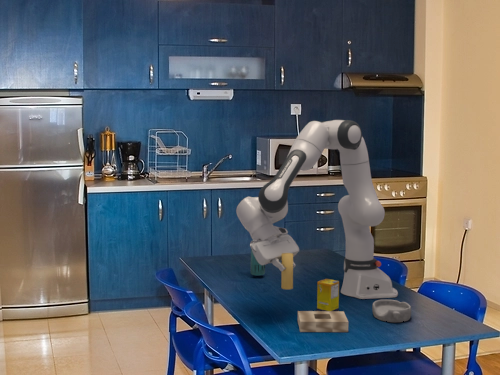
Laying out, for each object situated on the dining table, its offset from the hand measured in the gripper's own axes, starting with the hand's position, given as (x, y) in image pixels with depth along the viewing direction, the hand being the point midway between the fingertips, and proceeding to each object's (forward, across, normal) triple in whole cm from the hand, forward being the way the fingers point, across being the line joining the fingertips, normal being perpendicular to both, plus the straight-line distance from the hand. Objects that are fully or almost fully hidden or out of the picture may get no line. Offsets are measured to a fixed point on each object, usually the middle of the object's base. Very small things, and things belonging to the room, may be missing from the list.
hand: (288, 268), depth 248 cm
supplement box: (+16, +20, +11) cm, 28 cm away
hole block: (+22, +3, +5) cm, 23 cm away
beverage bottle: (-20, +42, +47) cm, 66 cm away
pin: (+4, 0, +5) cm, 7 cm away
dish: (+31, +28, -4) cm, 42 cm away
